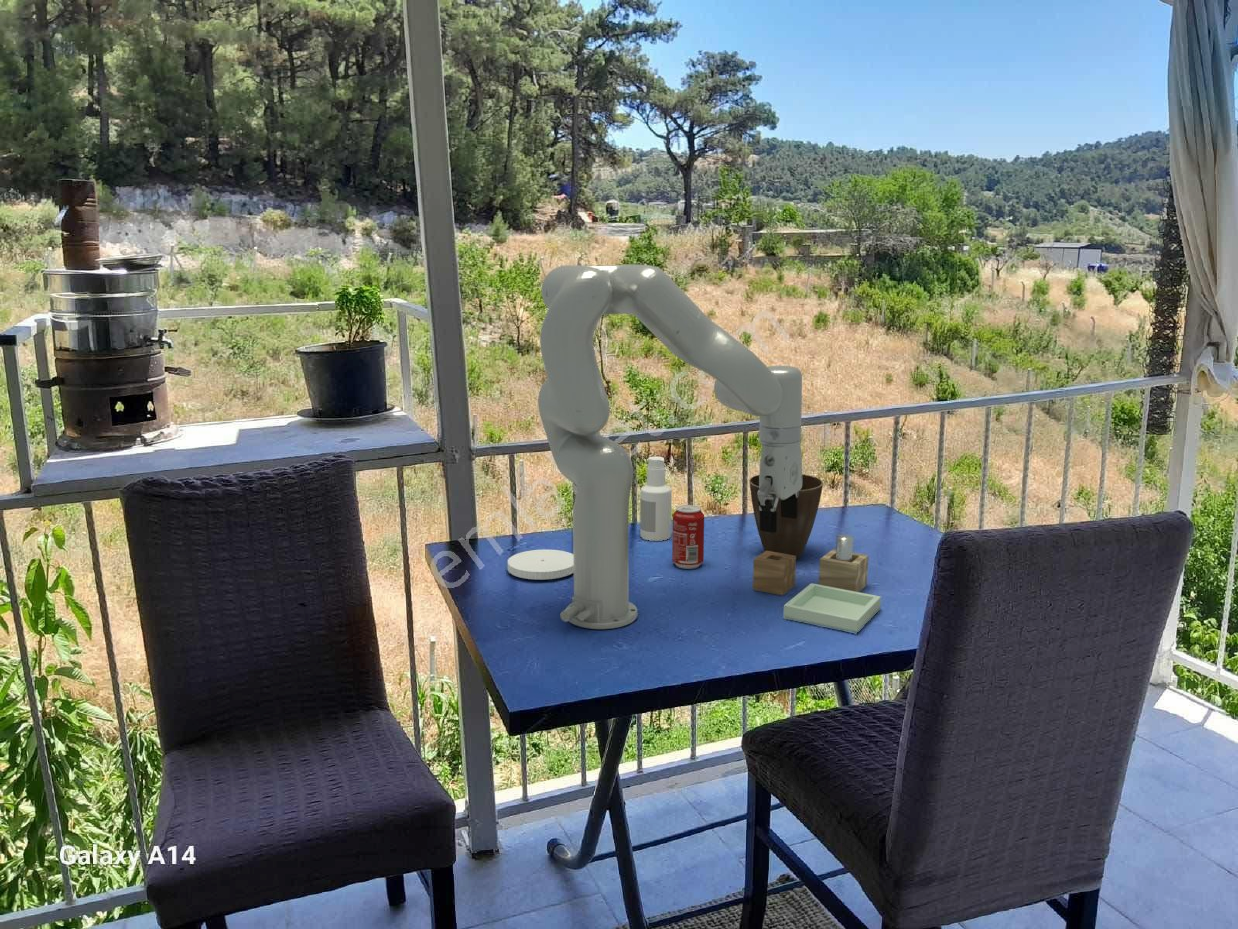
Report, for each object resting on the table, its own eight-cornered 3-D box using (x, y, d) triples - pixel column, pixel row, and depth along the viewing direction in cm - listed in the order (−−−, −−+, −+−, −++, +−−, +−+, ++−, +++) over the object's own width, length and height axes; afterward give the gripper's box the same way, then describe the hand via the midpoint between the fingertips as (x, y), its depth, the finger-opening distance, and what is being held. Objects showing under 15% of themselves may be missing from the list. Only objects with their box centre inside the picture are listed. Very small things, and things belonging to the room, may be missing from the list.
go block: (854, 596, 175) (856, 565, 173) (818, 589, 178) (819, 559, 177) (866, 585, 180) (868, 555, 179) (831, 578, 184) (832, 549, 183)
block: (782, 595, 175) (783, 564, 174) (752, 589, 178) (753, 559, 177) (794, 585, 180) (796, 555, 179) (765, 580, 183) (766, 550, 182)
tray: (856, 634, 157) (857, 620, 157) (783, 619, 164) (783, 605, 164) (880, 609, 168) (881, 596, 168) (810, 596, 175) (811, 583, 174)
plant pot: (820, 569, 190) (824, 491, 186) (745, 564, 192) (747, 488, 188) (818, 546, 204) (822, 473, 200) (748, 542, 206) (751, 471, 203)
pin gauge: (847, 591, 177) (850, 540, 175) (832, 588, 179) (834, 537, 176) (852, 586, 180) (855, 536, 177) (837, 583, 181) (840, 533, 179)
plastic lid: (530, 589, 179) (530, 577, 179) (495, 570, 191) (494, 558, 190) (591, 575, 187) (591, 562, 187) (554, 556, 199) (553, 545, 198)
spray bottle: (646, 531, 215) (646, 453, 211) (675, 534, 212) (676, 456, 208) (635, 539, 209) (636, 460, 205) (665, 543, 206) (666, 462, 202)
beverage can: (703, 560, 195) (704, 504, 192) (703, 570, 189) (704, 512, 186) (672, 559, 195) (673, 503, 193) (671, 569, 189) (672, 512, 187)
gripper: (780, 445, 164) (779, 540, 168) (816, 427, 178) (815, 515, 182) (741, 441, 167) (740, 534, 172) (779, 424, 182) (778, 510, 186)
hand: (779, 524), depth 177 cm, fingers open, 9 cm apart
